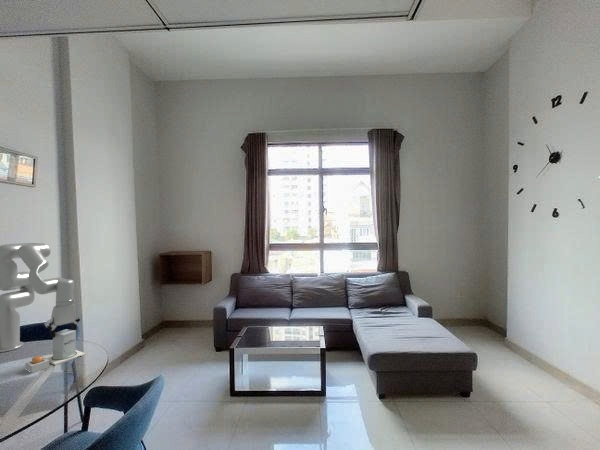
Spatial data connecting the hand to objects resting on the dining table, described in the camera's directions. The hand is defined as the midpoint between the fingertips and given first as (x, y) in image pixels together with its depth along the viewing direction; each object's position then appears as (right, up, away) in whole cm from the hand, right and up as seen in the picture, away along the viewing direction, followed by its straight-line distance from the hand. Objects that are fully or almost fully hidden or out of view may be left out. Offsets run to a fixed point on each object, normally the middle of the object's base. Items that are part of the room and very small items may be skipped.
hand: (63, 334), depth 165 cm
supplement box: (0, -12, 0) cm, 12 cm away
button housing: (-3, -13, -13) cm, 18 cm away
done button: (-3, -10, -13) cm, 17 cm away
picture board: (0, -12, 0) cm, 12 cm away
